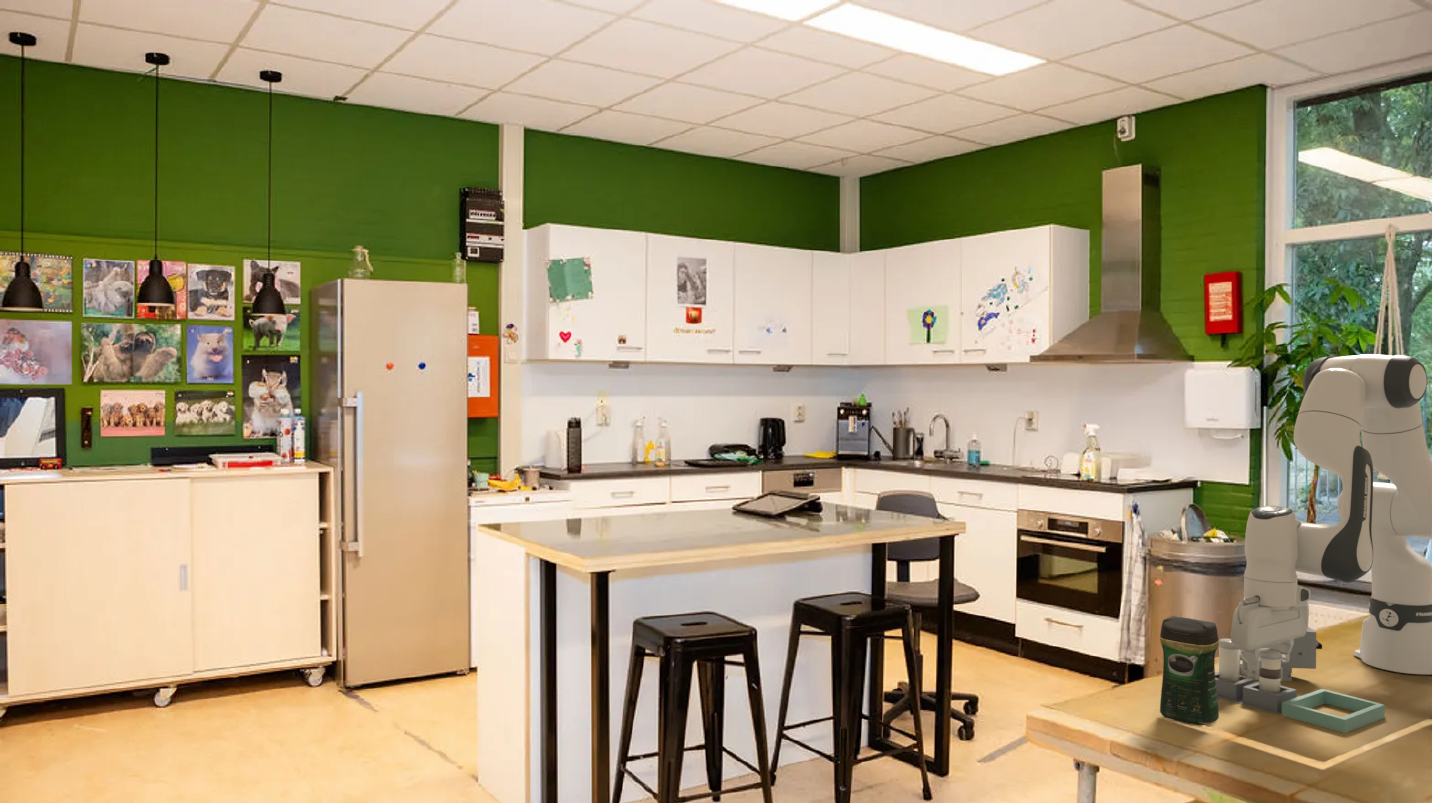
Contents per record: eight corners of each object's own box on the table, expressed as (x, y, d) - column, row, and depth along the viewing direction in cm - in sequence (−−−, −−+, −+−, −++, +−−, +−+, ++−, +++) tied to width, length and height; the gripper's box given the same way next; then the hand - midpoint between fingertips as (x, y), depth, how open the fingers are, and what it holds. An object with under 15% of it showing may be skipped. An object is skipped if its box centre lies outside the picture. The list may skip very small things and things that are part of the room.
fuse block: (1225, 688, 206) (1225, 669, 206) (1301, 709, 193) (1301, 689, 193) (1198, 697, 201) (1198, 677, 201) (1274, 719, 188) (1274, 697, 188)
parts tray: (1322, 705, 195) (1322, 688, 195) (1384, 722, 186) (1384, 704, 186) (1281, 720, 188) (1281, 702, 188) (1344, 738, 178) (1345, 720, 178)
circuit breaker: (1324, 687, 206) (1325, 613, 205) (1247, 684, 209) (1248, 611, 208) (1311, 676, 213) (1312, 605, 213) (1237, 673, 216) (1237, 602, 216)
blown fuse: (1265, 699, 196) (1265, 646, 196) (1284, 704, 193) (1285, 651, 193) (1254, 703, 194) (1255, 649, 194) (1273, 708, 191) (1274, 654, 191)
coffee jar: (1224, 719, 189) (1225, 619, 188) (1207, 730, 183) (1208, 627, 182) (1171, 707, 196) (1171, 610, 195) (1153, 717, 190) (1154, 618, 189)
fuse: (1225, 688, 203) (1226, 637, 203) (1243, 693, 200) (1243, 641, 199) (1214, 691, 201) (1215, 640, 201) (1232, 696, 198) (1233, 644, 198)
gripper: (1255, 603, 185) (1254, 679, 185) (1315, 590, 195) (1314, 661, 196) (1222, 596, 190) (1221, 670, 190) (1282, 584, 201) (1281, 654, 201)
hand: (1269, 666), depth 193 cm, fingers open, 8 cm apart
